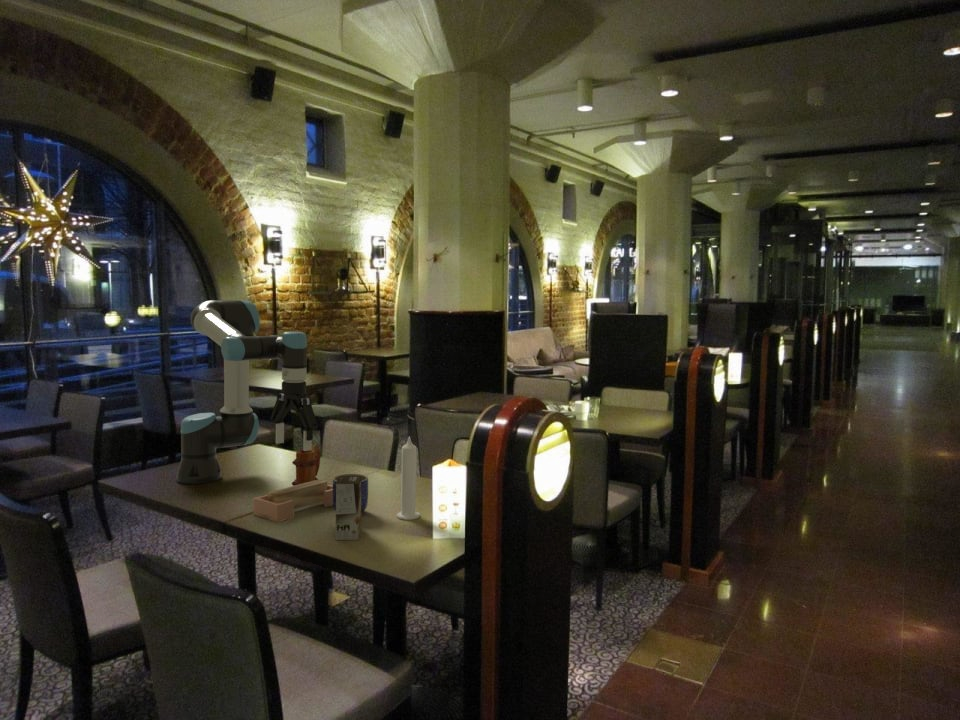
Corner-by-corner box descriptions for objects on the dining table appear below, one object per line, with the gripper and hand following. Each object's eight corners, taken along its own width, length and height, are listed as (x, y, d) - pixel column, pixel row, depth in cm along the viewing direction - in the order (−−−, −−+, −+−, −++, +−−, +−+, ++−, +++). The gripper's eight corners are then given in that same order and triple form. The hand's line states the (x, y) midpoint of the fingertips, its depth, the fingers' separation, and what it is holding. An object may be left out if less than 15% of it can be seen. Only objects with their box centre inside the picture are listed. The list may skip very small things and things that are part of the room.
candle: (410, 521, 210) (411, 439, 207) (392, 517, 213) (392, 437, 211) (424, 515, 216) (425, 436, 213) (406, 511, 219) (407, 433, 217)
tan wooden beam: (268, 511, 213) (268, 492, 213) (318, 497, 229) (318, 479, 229) (276, 514, 211) (276, 494, 210) (327, 499, 227) (327, 481, 226)
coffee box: (358, 540, 193) (358, 483, 191) (335, 540, 192) (335, 483, 191) (361, 529, 202) (361, 474, 201) (339, 529, 201) (339, 474, 200)
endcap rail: (253, 514, 213) (253, 498, 213) (317, 496, 234) (317, 481, 233) (277, 521, 207) (277, 505, 206) (341, 502, 227) (341, 487, 227)
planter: (352, 520, 209) (353, 484, 208) (325, 514, 214) (325, 479, 213) (375, 511, 219) (375, 476, 218) (348, 505, 224) (348, 471, 223)
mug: (310, 496, 233) (310, 452, 232) (288, 494, 235) (288, 450, 234) (328, 485, 248) (328, 443, 246) (307, 483, 249) (307, 442, 248)
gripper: (259, 377, 224) (259, 442, 226) (311, 386, 210) (310, 455, 212) (278, 375, 230) (278, 438, 232) (330, 384, 216) (328, 451, 218)
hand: (293, 446), depth 222 cm, fingers open, 13 cm apart
